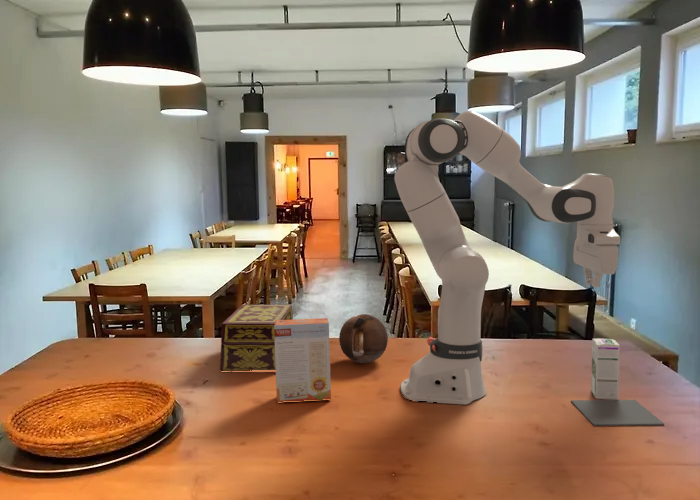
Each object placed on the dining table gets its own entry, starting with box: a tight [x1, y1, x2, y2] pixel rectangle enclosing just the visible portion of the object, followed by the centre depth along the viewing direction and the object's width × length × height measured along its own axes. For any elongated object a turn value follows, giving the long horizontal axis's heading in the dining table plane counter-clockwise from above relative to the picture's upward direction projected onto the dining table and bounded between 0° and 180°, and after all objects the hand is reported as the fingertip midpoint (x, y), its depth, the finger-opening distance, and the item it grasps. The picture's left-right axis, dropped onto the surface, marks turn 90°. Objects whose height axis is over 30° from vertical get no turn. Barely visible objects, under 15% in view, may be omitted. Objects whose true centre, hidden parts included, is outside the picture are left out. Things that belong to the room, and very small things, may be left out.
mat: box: [570, 399, 665, 427], centre depth 138 cm, size 16×14×1 cm
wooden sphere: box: [338, 313, 389, 364], centre depth 177 cm, size 15×15×15 cm
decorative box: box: [219, 304, 294, 371], centre depth 183 cm, size 28×19×15 cm
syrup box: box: [590, 337, 621, 400], centre depth 148 cm, size 6×6×14 cm
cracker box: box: [274, 317, 332, 403], centre depth 148 cm, size 14×6×21 cm, turn 94°
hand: (592, 285), depth 155 cm, fingers open, 3 cm apart
